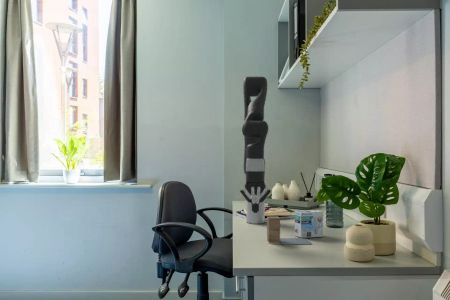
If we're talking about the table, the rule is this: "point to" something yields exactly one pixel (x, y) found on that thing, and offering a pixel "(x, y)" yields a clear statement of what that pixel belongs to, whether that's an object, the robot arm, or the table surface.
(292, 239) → the rubber mat
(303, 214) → the light bulb box
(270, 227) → the walnut block
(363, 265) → the table surface
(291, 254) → the table surface
